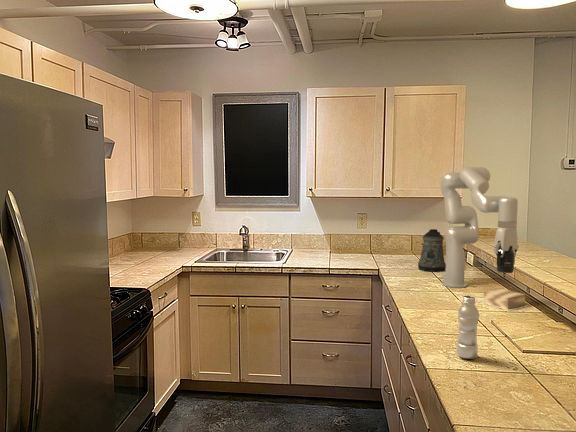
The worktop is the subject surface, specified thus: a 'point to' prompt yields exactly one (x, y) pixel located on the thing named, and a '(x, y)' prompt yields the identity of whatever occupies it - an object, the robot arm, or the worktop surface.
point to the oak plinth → (504, 298)
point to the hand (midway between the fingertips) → (505, 264)
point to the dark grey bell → (432, 252)
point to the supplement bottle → (507, 262)
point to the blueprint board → (507, 309)
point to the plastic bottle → (468, 329)
